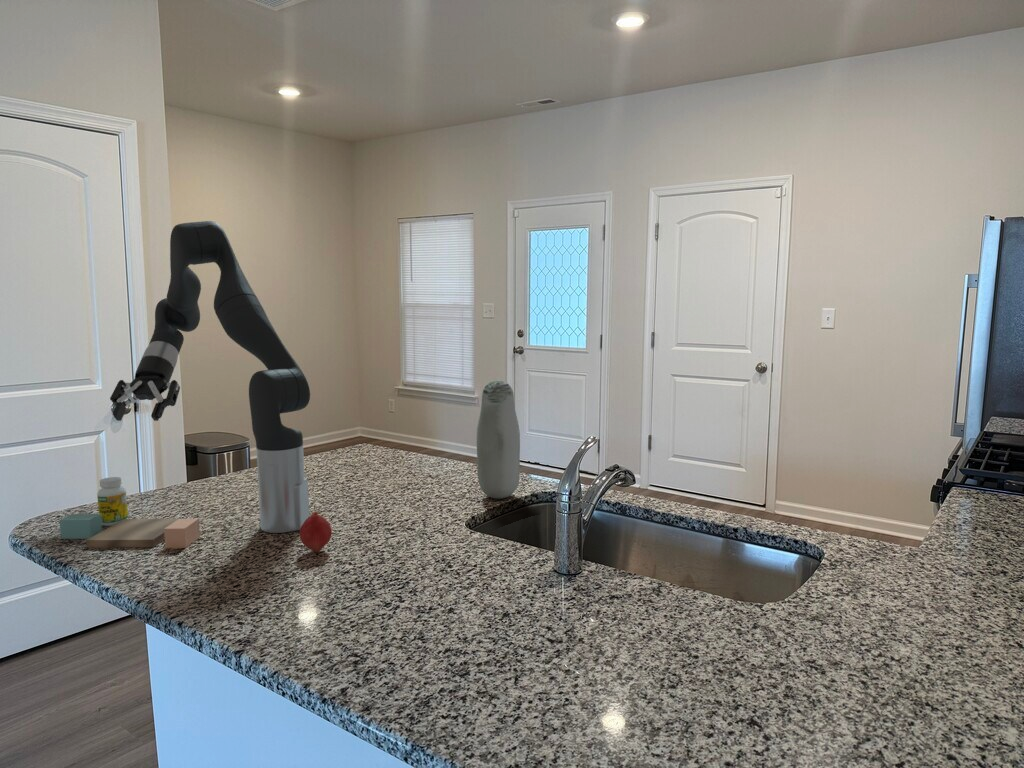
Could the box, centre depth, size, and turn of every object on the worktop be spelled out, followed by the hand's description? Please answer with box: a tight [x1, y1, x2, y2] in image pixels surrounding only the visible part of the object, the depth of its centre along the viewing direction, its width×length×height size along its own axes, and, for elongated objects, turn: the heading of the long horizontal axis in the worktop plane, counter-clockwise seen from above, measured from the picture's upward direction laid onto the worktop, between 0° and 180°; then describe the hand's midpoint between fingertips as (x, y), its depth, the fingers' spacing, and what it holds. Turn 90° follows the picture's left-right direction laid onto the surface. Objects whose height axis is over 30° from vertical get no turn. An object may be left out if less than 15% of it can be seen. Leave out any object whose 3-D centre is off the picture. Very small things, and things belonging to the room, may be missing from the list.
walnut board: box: [85, 517, 186, 549], centre depth 139 cm, size 13×13×2 cm
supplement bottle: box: [96, 476, 129, 527], centre depth 148 cm, size 5×5×10 cm
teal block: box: [59, 513, 103, 540], centre depth 140 cm, size 6×4×4 cm, turn 89°
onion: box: [299, 510, 332, 553], centre depth 129 cm, size 6×6×8 cm
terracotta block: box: [164, 518, 201, 549], centre depth 135 cm, size 6×4×4 cm, turn 0°
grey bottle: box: [476, 380, 521, 500], centre depth 163 cm, size 10×10×28 cm
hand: (135, 418), depth 157 cm, fingers open, 8 cm apart
